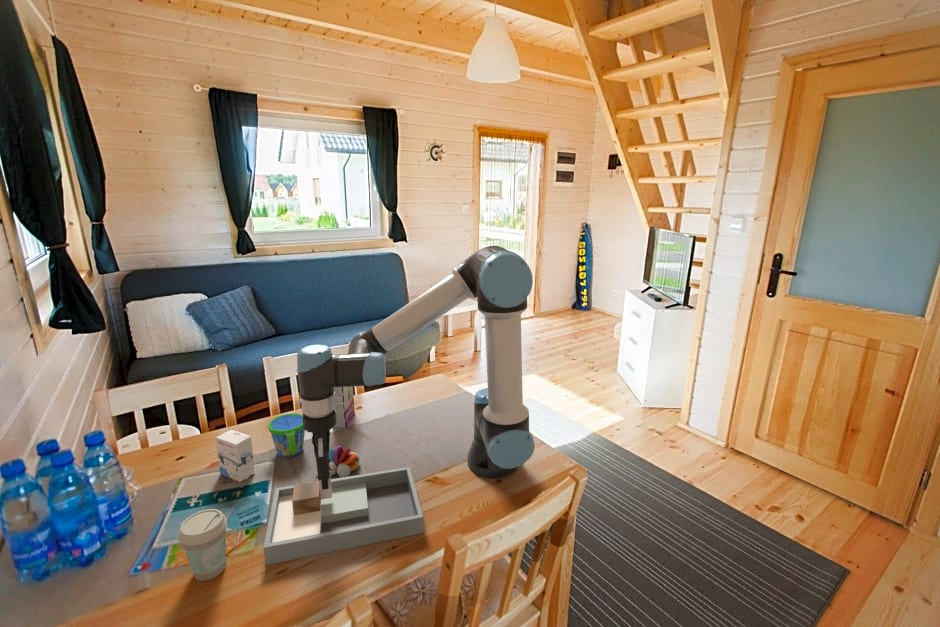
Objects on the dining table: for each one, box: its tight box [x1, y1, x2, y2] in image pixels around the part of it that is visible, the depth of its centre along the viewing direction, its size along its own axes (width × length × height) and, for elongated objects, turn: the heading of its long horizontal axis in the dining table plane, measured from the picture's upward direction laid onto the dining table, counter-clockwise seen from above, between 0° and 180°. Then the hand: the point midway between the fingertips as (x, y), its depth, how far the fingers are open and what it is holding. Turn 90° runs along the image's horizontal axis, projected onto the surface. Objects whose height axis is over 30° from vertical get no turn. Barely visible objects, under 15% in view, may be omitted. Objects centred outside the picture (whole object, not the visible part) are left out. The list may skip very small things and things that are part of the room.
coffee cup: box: [178, 508, 228, 582], centre depth 91 cm, size 8×8×12 cm
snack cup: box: [267, 412, 306, 458], centre depth 133 cm, size 16×10×10 cm
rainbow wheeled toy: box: [329, 445, 360, 478], centre depth 125 cm, size 8×10×7 cm
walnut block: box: [292, 480, 321, 515], centre depth 107 cm, size 6×6×4 cm
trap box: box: [263, 466, 425, 566], centre depth 107 cm, size 34×20×4 cm, turn 106°
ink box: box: [215, 429, 255, 483], centre depth 122 cm, size 9×5×12 cm, turn 65°
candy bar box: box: [332, 386, 356, 430], centre depth 150 cm, size 11×5×16 cm, turn 179°
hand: (326, 496), depth 109 cm, fingers closed
